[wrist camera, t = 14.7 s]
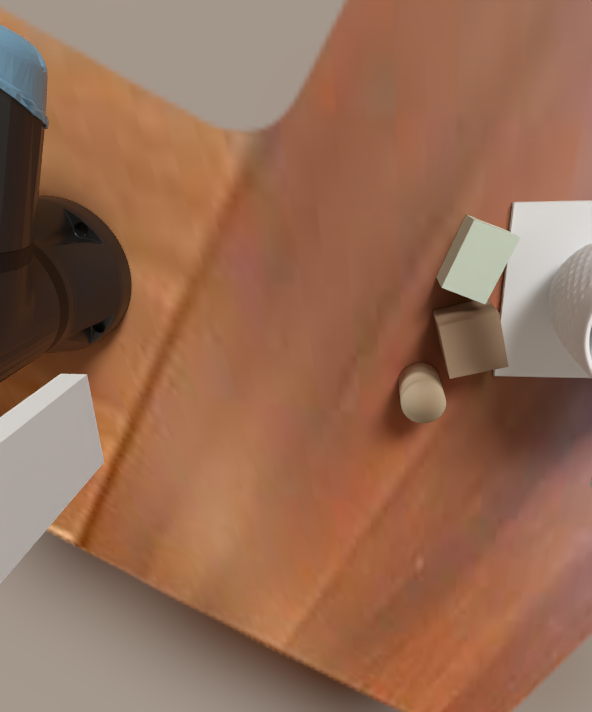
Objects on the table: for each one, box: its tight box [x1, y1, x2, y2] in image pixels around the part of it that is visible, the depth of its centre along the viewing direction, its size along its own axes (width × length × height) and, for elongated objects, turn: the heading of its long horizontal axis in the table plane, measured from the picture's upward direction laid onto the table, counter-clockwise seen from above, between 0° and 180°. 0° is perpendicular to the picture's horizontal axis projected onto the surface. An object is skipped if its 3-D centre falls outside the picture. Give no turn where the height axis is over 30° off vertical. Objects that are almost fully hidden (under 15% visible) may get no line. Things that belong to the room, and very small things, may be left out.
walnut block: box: [432, 299, 509, 379], centre depth 47 cm, size 5×5×5 cm
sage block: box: [436, 215, 520, 304], centre depth 45 cm, size 4×6×4 cm, turn 160°
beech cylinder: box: [398, 362, 446, 423], centre depth 50 cm, size 4×4×5 cm
